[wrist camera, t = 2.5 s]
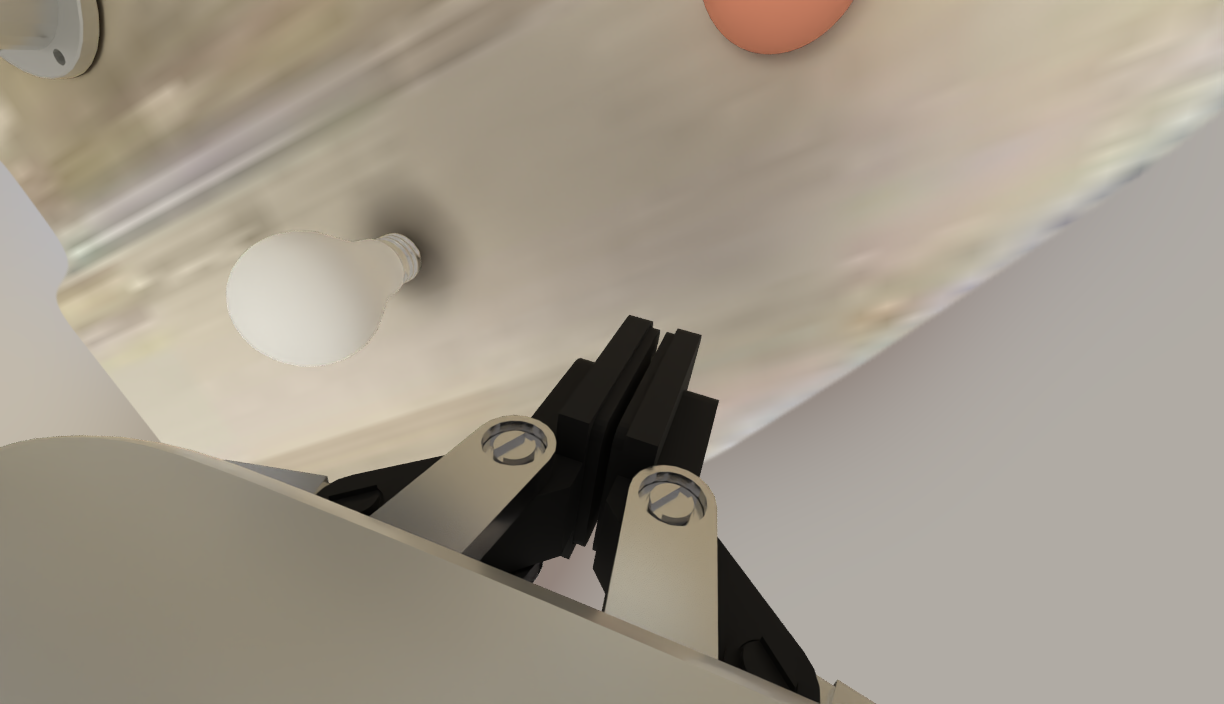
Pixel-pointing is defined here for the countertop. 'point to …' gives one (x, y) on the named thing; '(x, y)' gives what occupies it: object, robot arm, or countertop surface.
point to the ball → (774, 22)
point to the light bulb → (316, 293)
